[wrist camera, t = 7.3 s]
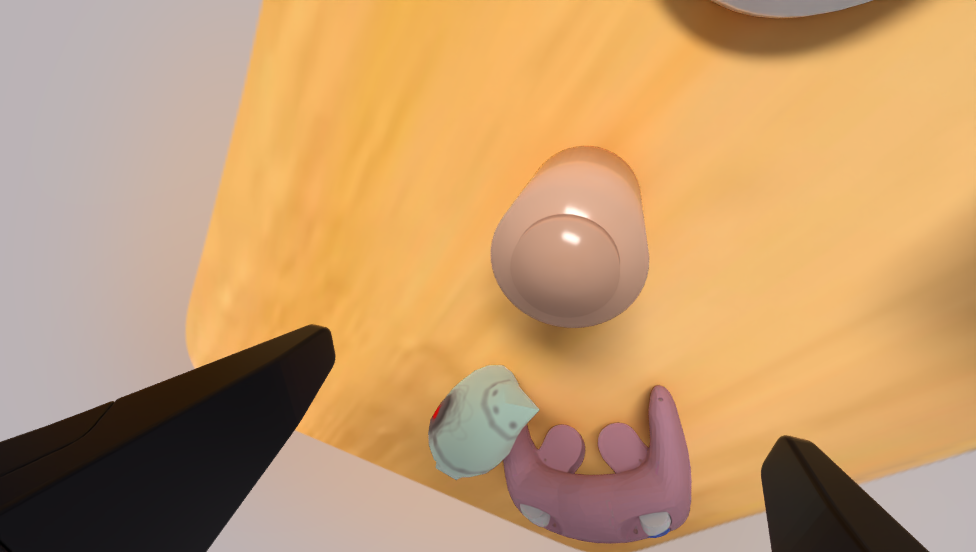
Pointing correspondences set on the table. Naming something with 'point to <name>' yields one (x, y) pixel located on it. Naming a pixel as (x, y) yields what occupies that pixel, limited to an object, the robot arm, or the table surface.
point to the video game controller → (606, 479)
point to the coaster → (786, 7)
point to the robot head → (479, 422)
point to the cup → (574, 240)
